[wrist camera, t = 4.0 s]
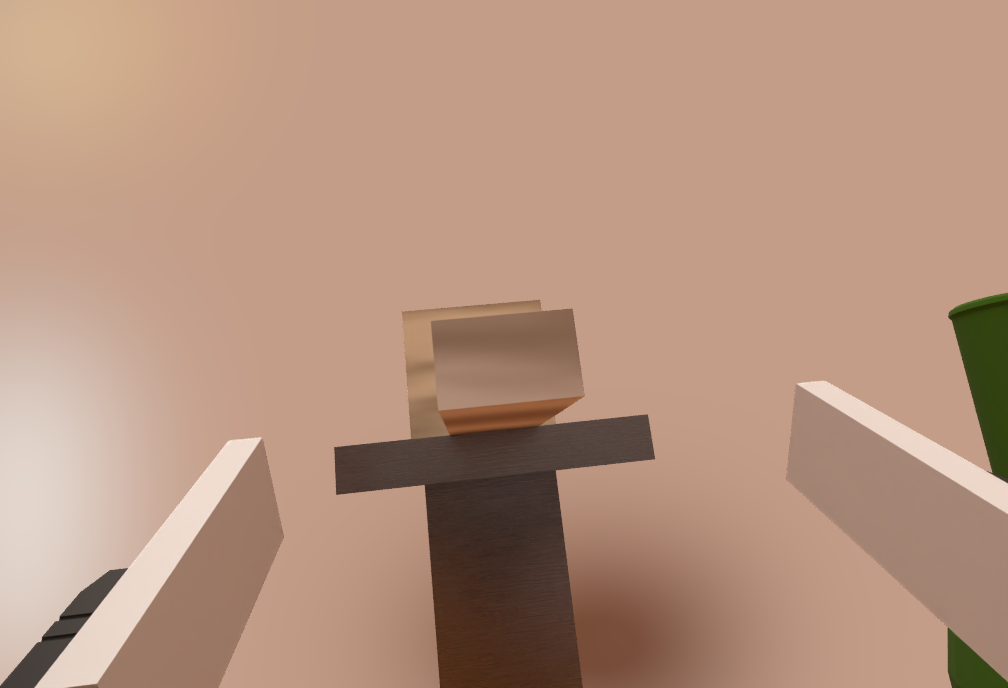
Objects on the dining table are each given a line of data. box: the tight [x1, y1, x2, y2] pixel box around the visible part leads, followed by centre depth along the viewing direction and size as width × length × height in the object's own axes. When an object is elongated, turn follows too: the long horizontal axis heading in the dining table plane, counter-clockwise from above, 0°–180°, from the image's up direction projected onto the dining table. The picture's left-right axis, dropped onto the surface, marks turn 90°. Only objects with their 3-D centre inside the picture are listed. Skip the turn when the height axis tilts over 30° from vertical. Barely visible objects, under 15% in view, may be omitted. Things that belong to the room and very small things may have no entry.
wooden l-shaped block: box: [402, 300, 585, 439], centre depth 32 cm, size 32×10×10 cm, turn 4°
